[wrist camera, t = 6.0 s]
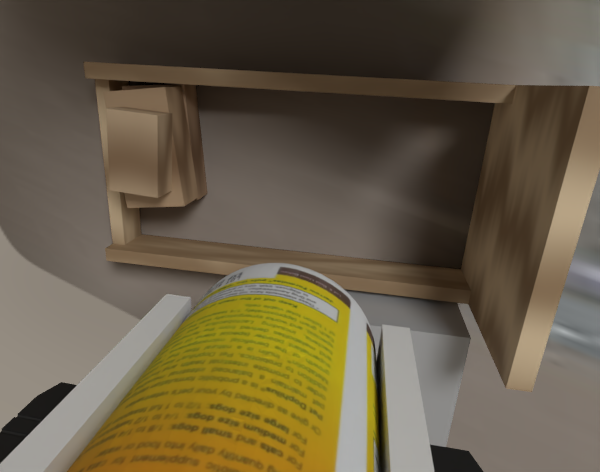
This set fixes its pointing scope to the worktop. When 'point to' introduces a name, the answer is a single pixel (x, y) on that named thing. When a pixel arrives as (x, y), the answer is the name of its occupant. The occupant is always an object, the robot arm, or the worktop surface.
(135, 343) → the robot arm
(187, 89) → the offcut slab low
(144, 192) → the offcut block
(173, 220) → the worktop surface
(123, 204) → the light wood open box
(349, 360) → the supplement bottle
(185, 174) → the offcut slab top
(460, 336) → the stone plinth
